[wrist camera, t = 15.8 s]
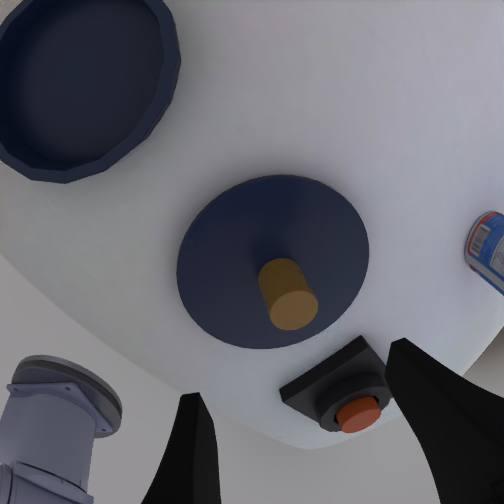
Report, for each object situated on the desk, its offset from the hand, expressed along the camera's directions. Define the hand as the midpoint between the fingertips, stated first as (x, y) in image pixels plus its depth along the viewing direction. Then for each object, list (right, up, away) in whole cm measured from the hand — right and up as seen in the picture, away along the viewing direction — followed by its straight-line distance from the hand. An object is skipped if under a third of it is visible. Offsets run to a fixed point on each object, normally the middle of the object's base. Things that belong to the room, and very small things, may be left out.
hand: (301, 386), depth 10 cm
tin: (-10, +14, +1) cm, 17 cm away
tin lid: (0, +4, +7) cm, 8 cm away
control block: (+7, -7, +15) cm, 18 cm away
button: (+7, -8, +12) cm, 17 cm away
